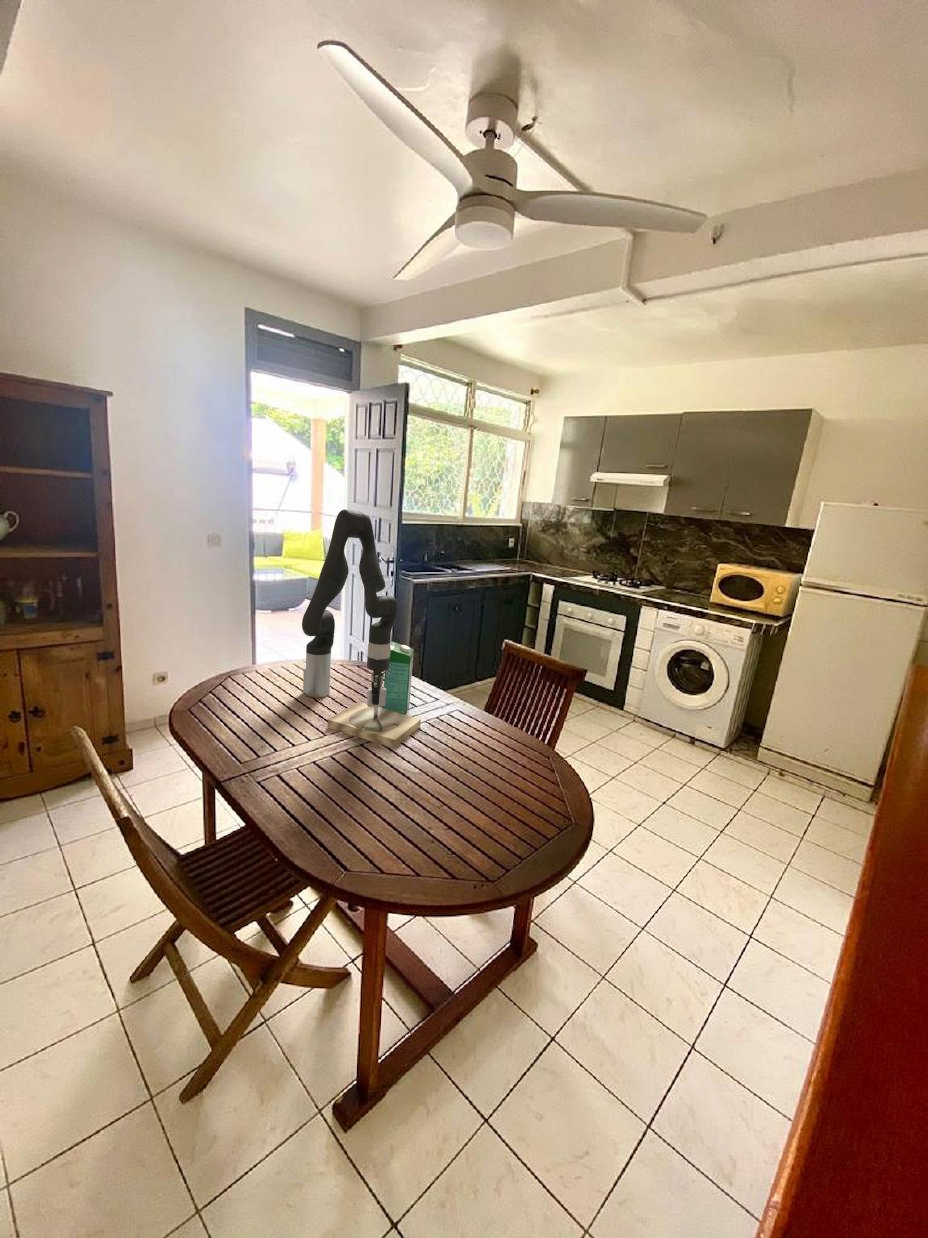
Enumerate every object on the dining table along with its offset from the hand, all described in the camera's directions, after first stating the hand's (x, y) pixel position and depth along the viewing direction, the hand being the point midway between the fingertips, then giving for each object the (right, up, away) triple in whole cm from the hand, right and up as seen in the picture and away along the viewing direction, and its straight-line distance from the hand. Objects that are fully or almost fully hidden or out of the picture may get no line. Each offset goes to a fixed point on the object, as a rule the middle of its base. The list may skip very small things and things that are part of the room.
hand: (376, 702), depth 170 cm
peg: (+1, -7, -2) cm, 7 cm away
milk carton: (+4, -5, +19) cm, 21 cm away
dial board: (-1, -9, +2) cm, 9 cm away
